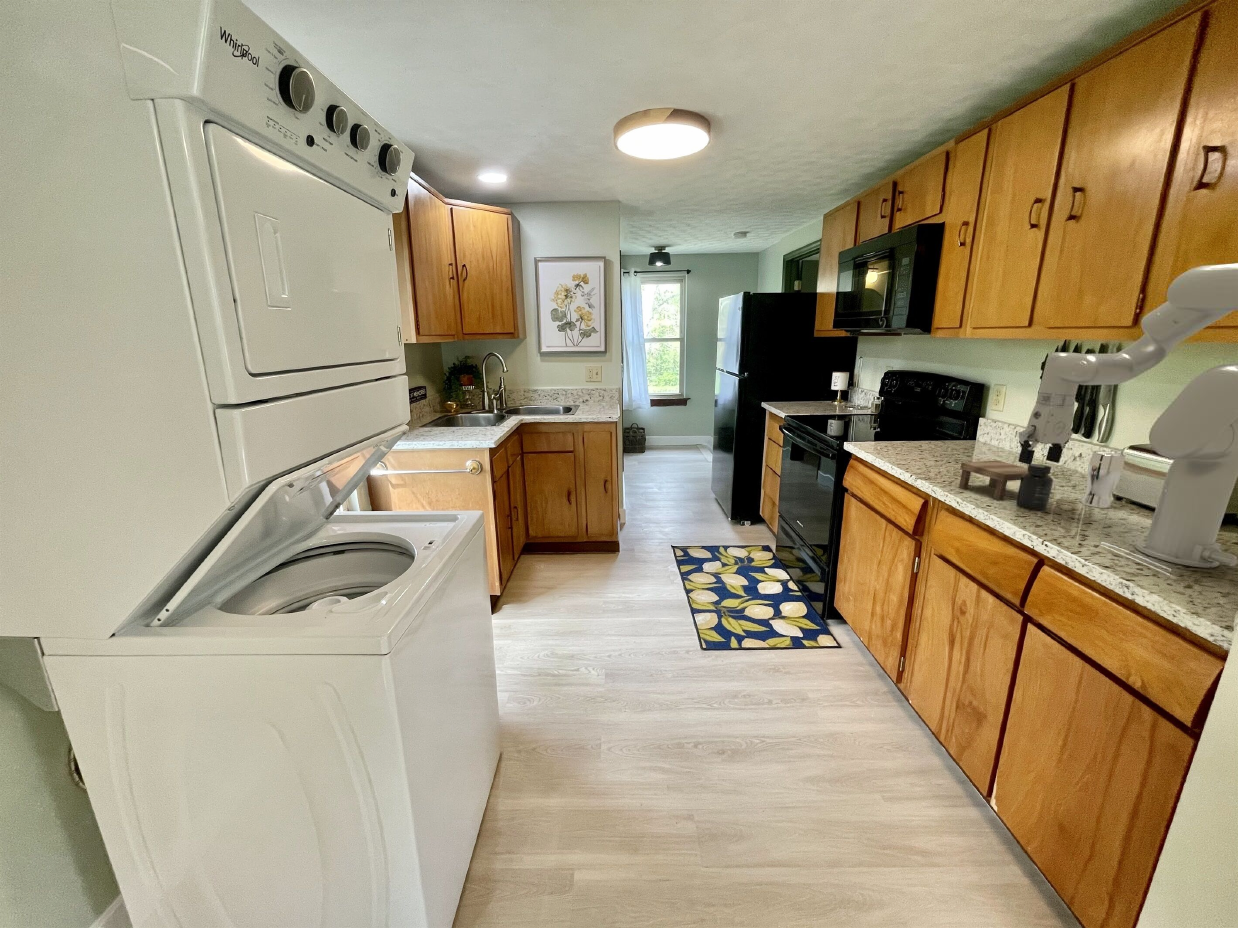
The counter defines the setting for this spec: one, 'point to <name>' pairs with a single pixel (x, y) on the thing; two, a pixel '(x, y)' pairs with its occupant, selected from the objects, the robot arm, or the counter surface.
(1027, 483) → the supplement bottle
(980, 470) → the walnut stool
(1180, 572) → the counter surface
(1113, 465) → the beer glass
